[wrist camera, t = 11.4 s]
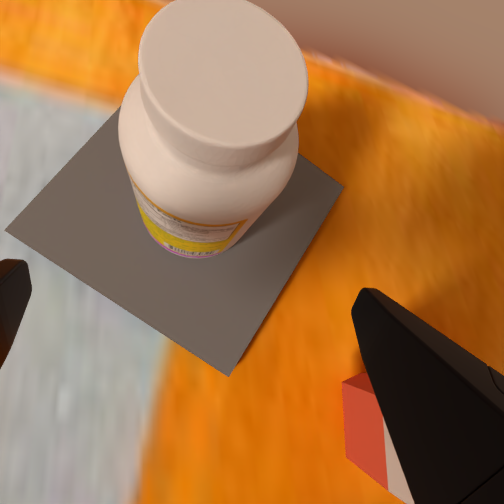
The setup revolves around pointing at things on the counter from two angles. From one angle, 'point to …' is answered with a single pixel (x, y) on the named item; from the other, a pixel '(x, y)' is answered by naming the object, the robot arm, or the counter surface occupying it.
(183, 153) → the supplement bottle
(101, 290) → the charcoal mat
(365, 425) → the french fries container
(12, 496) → the counter surface
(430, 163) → the counter surface
